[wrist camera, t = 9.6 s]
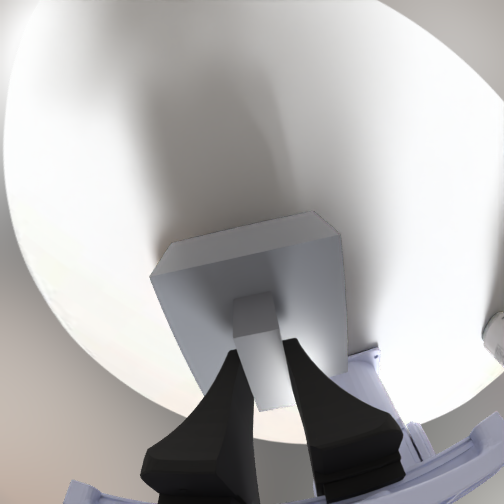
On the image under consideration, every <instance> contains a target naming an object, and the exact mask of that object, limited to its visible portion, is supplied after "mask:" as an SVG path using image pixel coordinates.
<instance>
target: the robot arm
mask: <svg viewBox="0 0 504 504" xmlns="http://www.w3.org/2000/svg"><path fill="white" fill-rule="evenodd" d="M282 342H283V347H284V352H285V357H286V362H287V366H288V371H289V376H290V381H291V386H292V391H293V394H294V398H295V401H296V404H297V407H298V410H299V414H300V417H301V420H302V423H303V427H304V431H305V435H306V440H307V445H308V450H309V455H310V461H311V466H312V471H313V477H314V481H313V489H314V495H315V498H310V499H305V500H299V501H294V502H286V503H280V504H452V503H454V502H455V501H457V500H459V499H460V498H462V497H463V496H465V495H466V494H468V493H469V492H471V491H472V490H474V489H475V488H477V487H478V486H480V485H481V484H482V483H484V482H485V481H487V480H488V479H489V478H491V477H492V476H493V475H494V474H496V473H497V472H498V471H499V470H500V469H501V468H502V467H503V466H504V419H503V418H502V417H501V415H500V414H499V413H498V411H496V412H494V413H493V414H491V415H490V416H489V417H487V418H486V419H484V420H483V421H481V422H480V423H478V424H477V425H476V426H475V427H474V428H473V430H472V431H471V433H470V436H468V437H466V438H465V439H463V440H461V441H460V442H458V443H456V444H455V445H453V446H451V447H449V448H447V449H446V450H444V451H442V452H440V453H438V454H436V453H435V451H434V449H433V447H432V445H431V443H430V442H429V439H428V438H427V436H426V434H425V432H424V430H423V428H422V427H421V425H420V423H414V422H410V423H408V424H407V427H408V429H409V431H408V430H407V428H406V426H405V425H404V423H403V421H402V420H401V418H400V416H399V414H398V412H397V411H396V409H395V407H394V405H393V403H392V401H391V399H390V397H389V395H388V393H387V391H386V389H385V387H384V385H383V384H382V382H381V380H380V378H379V367H380V349H379V348H373V349H370V350H367V351H364V352H361V353H358V354H354V355H351V356H348V372H346V373H343V374H339V375H336V376H332V377H328V376H327V375H325V374H324V373H323V372H322V371H321V370H320V369H319V368H318V366H317V365H316V364H315V363H314V362H313V361H312V360H311V359H310V357H309V356H308V355H307V353H306V352H305V351H304V349H303V348H302V346H301V345H300V343H299V341H298V339H297V338H291V339H286V340H282ZM375 355H376V356H375ZM253 413H254V397H253V394H252V391H251V389H250V386H249V383H248V380H247V378H246V375H245V372H244V369H243V366H242V363H241V361H240V358H239V355H238V352H237V349H234V350H230V351H229V352H228V354H227V356H226V358H225V361H224V363H223V365H222V367H221V369H220V371H219V373H218V375H217V376H216V378H215V380H214V382H213V384H212V385H211V387H210V388H209V390H208V392H207V393H206V395H205V396H204V398H203V399H202V401H201V402H200V403H199V404H198V406H197V407H196V408H195V409H194V411H193V412H192V413H191V414H190V415H189V416H188V417H187V418H186V420H185V421H184V422H183V423H182V424H181V425H179V426H178V427H177V428H176V429H175V430H174V431H173V432H171V433H170V434H169V435H168V436H166V437H165V438H164V439H162V440H161V441H159V442H158V443H157V444H155V445H153V446H152V447H150V448H149V449H148V450H147V452H146V455H145V458H144V461H143V465H142V469H141V474H140V476H141V479H142V480H143V481H144V482H145V483H146V484H147V485H149V486H150V487H151V488H152V489H154V490H155V491H156V492H158V493H159V500H158V504H260V499H259V492H258V484H257V476H256V468H255V458H254V449H253ZM409 432H410V433H409ZM63 504H156V503H149V502H142V501H137V500H132V499H126V498H121V497H117V496H113V495H108V494H104V493H101V492H100V491H99V490H98V489H96V488H95V487H93V486H91V485H89V484H86V483H82V482H79V481H76V480H71V482H70V485H69V488H68V491H67V493H66V496H65V499H64V502H63Z"/></svg>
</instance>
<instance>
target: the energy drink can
mask: <svg viewBox="0 0 504 504" xmlns="http://www.w3.org/2000/svg"><path fill="white" fill-rule="evenodd" d="M483 341H484V347H485V348H486V349H487V350H488V351H489V352H490V353H491V354H492V355H493V357H494V358H495V359H496V360H497V361H498V362H499V363H500V364H501V365H502V366H503V367H504V312H498V313H496V314H495V315H494V316H493V317H492V318H491V319H490V321H489V322H488V324H487V326H486V328H485V330H484V332H483Z"/></svg>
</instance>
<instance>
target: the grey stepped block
mask: <svg viewBox="0 0 504 504" xmlns="http://www.w3.org/2000/svg"><path fill="white" fill-rule="evenodd" d="M150 280H151V283H152V285H153V288H154V290H155V293H156V295H157V298H158V300H159V302H160V305H161V307H162V310H163V312H164V314H165V317H166V319H167V321H168V323H169V326H170V328H171V330H172V332H173V335H174V337H175V339H176V341H177V343H178V345H179V347H180V350H181V352H182V354H183V356H184V358H185V360H186V362H187V364H188V366H189V368H190V370H191V372H192V374H193V376H194V378H195V380H196V382H197V383H198V385H199V387H200V389H201V391H202V393H203V395H204V396H205V395H206V393H207V392H208V390H209V388H210V387H211V385H212V384H213V382H214V380H215V378H216V376H217V375H218V373H219V371H220V369H221V367H222V365H223V363H224V361H225V358H226V356H227V354H228V352H229V351H230V350H234V349H237V352H238V355H239V358H240V361H241V363H242V366H243V369H244V372H245V375H246V378H247V380H248V383H249V386H250V389H251V391H252V394H253V397H254V399H255V402H256V405H257V407H258V410H259V412H262V411H267V410H273V409H278V408H283V407H288V406H293V405H295V400H294V395H293V391H292V386H291V381H290V376H289V371H288V366H287V362H286V357H285V352H284V347H283V342H282V340H286V339H291V338H297V339H298V341H299V343H300V345H301V346H302V348H303V349H304V351H305V352H306V353H307V355H308V356H309V357H310V359H311V360H312V361H313V362H314V363H315V364H316V365H317V366H318V368H319V369H320V370H321V371H322V372H323V373H324V374H325V375H327V376H328V377H332V376H336V375H339V374H343V373H346V372H348V335H347V309H346V291H345V277H344V265H343V254H342V244H341V235H340V233H338V232H337V231H336V230H335V229H334V228H333V227H332V226H331V225H329V224H328V223H327V222H326V221H325V220H324V219H322V218H321V217H320V216H319V215H318V214H317V213H315V212H314V211H309V212H305V213H300V214H295V215H290V216H286V217H281V218H277V219H272V220H267V221H263V222H258V223H254V224H250V225H245V226H241V227H236V228H232V229H228V230H223V231H219V232H215V233H211V234H206V235H202V236H198V237H194V238H190V239H186V240H181V241H177V242H173V243H171V244H170V246H169V247H168V249H167V250H166V252H165V253H164V255H163V256H162V258H161V260H160V261H159V263H158V264H157V266H156V267H155V269H154V270H153V272H152V273H151V275H150Z"/></svg>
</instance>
